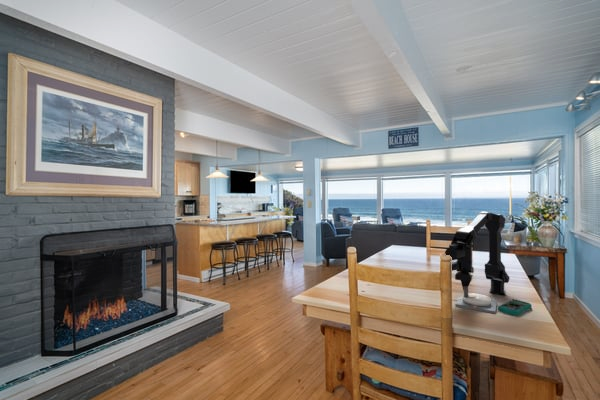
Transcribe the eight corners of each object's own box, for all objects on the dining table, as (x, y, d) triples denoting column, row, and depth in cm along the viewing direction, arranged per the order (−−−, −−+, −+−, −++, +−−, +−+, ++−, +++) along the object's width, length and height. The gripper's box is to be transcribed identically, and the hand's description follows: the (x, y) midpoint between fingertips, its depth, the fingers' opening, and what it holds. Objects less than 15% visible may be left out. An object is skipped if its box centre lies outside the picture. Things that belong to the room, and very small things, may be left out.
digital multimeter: (497, 312, 125) (497, 305, 125) (512, 304, 133) (512, 298, 133) (516, 317, 119) (516, 310, 119) (532, 309, 127) (532, 302, 127)
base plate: (460, 296, 143) (460, 294, 143) (497, 302, 134) (497, 300, 134) (455, 306, 130) (455, 303, 130) (495, 314, 122) (495, 311, 122)
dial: (458, 297, 138) (458, 282, 138) (482, 297, 137) (482, 282, 137) (469, 305, 127) (469, 290, 127) (496, 306, 126) (496, 290, 126)
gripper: (448, 252, 147) (448, 282, 148) (442, 259, 132) (442, 293, 132) (473, 254, 141) (473, 286, 141) (471, 262, 125) (470, 298, 126)
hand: (464, 291), depth 135 cm, fingers closed
